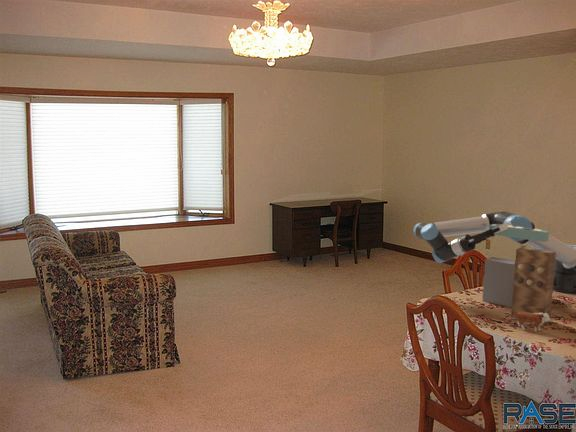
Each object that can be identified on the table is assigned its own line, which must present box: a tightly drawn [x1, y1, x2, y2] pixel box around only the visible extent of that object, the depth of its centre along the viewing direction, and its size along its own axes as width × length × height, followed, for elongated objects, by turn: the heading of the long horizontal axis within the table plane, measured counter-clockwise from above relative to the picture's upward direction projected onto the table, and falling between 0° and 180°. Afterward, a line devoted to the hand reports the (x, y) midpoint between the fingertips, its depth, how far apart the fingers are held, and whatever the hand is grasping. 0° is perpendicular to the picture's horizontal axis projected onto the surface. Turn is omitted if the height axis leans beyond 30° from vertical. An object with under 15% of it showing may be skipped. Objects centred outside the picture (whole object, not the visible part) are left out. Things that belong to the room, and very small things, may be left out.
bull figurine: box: [515, 311, 551, 333], centre depth 250 cm, size 4×13×8 cm, turn 58°
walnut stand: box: [510, 246, 556, 326], centre depth 262 cm, size 14×8×30 cm, turn 48°
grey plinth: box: [482, 256, 515, 308], centre depth 288 cm, size 13×8×20 cm, turn 48°
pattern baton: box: [490, 224, 550, 242], centre depth 264 cm, size 24×4×4 cm, turn 48°
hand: (508, 225), depth 267 cm, fingers closed on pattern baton, 4 cm apart
